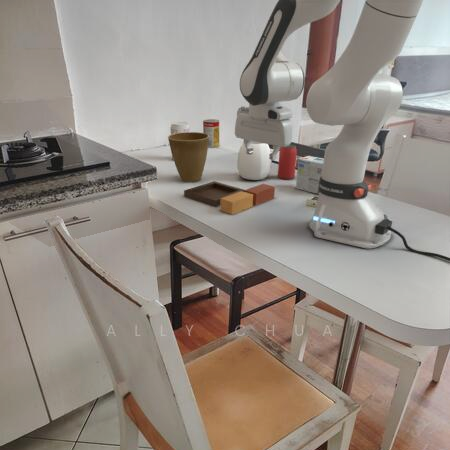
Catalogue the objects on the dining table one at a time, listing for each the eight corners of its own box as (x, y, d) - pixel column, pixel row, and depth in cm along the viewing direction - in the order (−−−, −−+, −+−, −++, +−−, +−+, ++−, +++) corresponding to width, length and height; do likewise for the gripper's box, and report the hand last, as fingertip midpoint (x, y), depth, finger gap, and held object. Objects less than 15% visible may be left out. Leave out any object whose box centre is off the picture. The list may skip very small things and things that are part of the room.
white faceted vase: (262, 171, 168) (264, 137, 160) (276, 180, 157) (278, 144, 150) (232, 174, 164) (232, 139, 157) (243, 184, 154) (245, 146, 146)
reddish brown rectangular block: (274, 198, 140) (274, 186, 138) (255, 205, 134) (256, 193, 132) (262, 194, 143) (263, 183, 141) (244, 201, 137) (244, 190, 135)
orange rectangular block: (252, 206, 133) (253, 194, 131) (232, 214, 127) (232, 202, 125) (241, 202, 136) (241, 191, 134) (220, 210, 130) (220, 198, 128)
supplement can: (174, 156, 188) (172, 121, 180) (192, 157, 188) (191, 122, 179) (170, 161, 182) (168, 124, 174) (188, 161, 181) (187, 125, 173)
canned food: (220, 144, 210) (220, 119, 203) (217, 148, 203) (217, 122, 197) (205, 144, 211) (205, 118, 205) (202, 147, 204) (201, 121, 198)
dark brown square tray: (245, 195, 142) (245, 189, 141) (215, 206, 133) (215, 200, 132) (214, 186, 151) (214, 181, 150) (184, 196, 141) (183, 190, 140)
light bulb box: (330, 190, 147) (334, 160, 141) (320, 195, 143) (324, 163, 137) (305, 184, 153) (308, 154, 148) (294, 188, 149) (297, 158, 143)
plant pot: (190, 172, 167) (188, 130, 158) (217, 179, 159) (217, 135, 150) (162, 180, 157) (159, 135, 149) (190, 188, 149) (188, 141, 141)
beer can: (293, 180, 158) (297, 147, 151) (276, 179, 159) (279, 147, 152) (294, 175, 163) (297, 144, 157) (278, 174, 164) (280, 143, 158)
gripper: (230, 106, 127) (230, 152, 135) (284, 115, 116) (280, 164, 124) (244, 104, 131) (242, 149, 139) (297, 112, 120) (292, 160, 127)
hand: (260, 156), depth 131 cm, fingers open, 8 cm apart
